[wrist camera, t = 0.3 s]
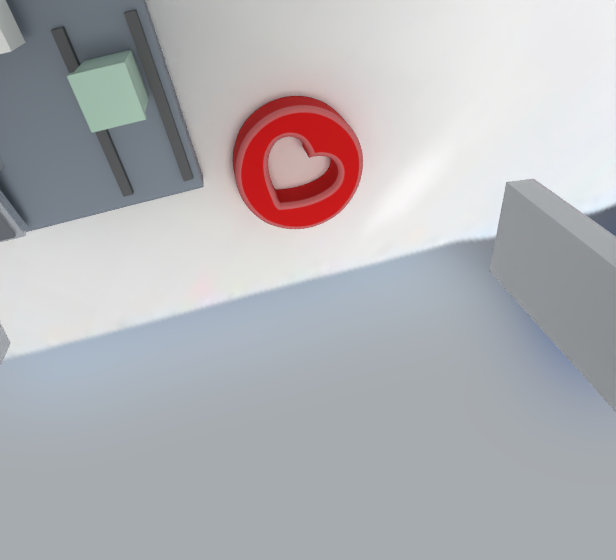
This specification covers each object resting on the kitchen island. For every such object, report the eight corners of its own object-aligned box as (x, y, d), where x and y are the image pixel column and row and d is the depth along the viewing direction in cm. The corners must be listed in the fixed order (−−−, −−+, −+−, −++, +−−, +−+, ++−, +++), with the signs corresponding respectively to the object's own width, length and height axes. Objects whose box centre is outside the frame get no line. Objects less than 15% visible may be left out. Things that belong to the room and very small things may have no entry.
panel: (-238, -13, 28) (-290, -7, 25) (114, -92, 29) (105, -96, 26) (-57, 242, 38) (-79, 269, 35) (202, 176, 39) (203, 197, 36)
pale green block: (81, 59, 31) (66, 76, 28) (132, 47, 32) (124, 62, 28) (102, 110, 33) (91, 132, 29) (150, 99, 33) (146, 119, 30)
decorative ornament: (226, 208, 41) (229, 226, 39) (240, 86, 36) (244, 97, 34) (338, 218, 44) (348, 235, 41) (366, 105, 39) (378, 117, 36)
